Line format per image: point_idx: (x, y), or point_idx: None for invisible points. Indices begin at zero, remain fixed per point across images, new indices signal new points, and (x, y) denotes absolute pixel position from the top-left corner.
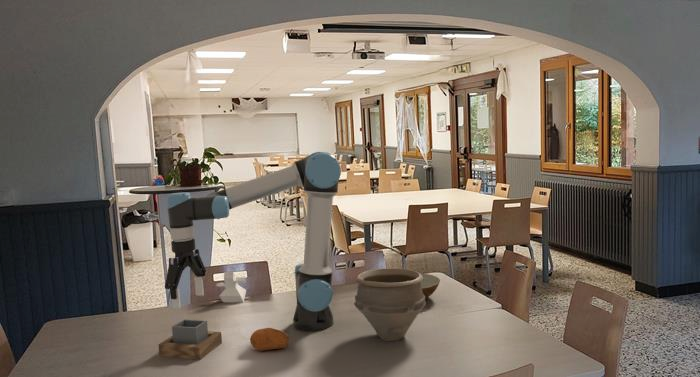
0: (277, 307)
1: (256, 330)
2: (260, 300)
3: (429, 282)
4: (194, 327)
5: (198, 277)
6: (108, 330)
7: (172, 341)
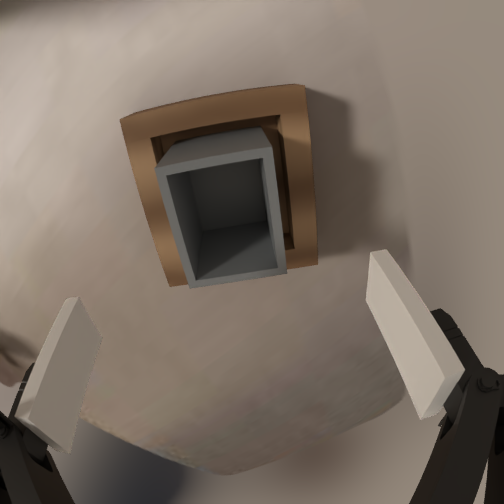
0: None
1: None
2: None
3: None
4: (265, 159)
5: (45, 432)
6: (216, 426)
7: None
